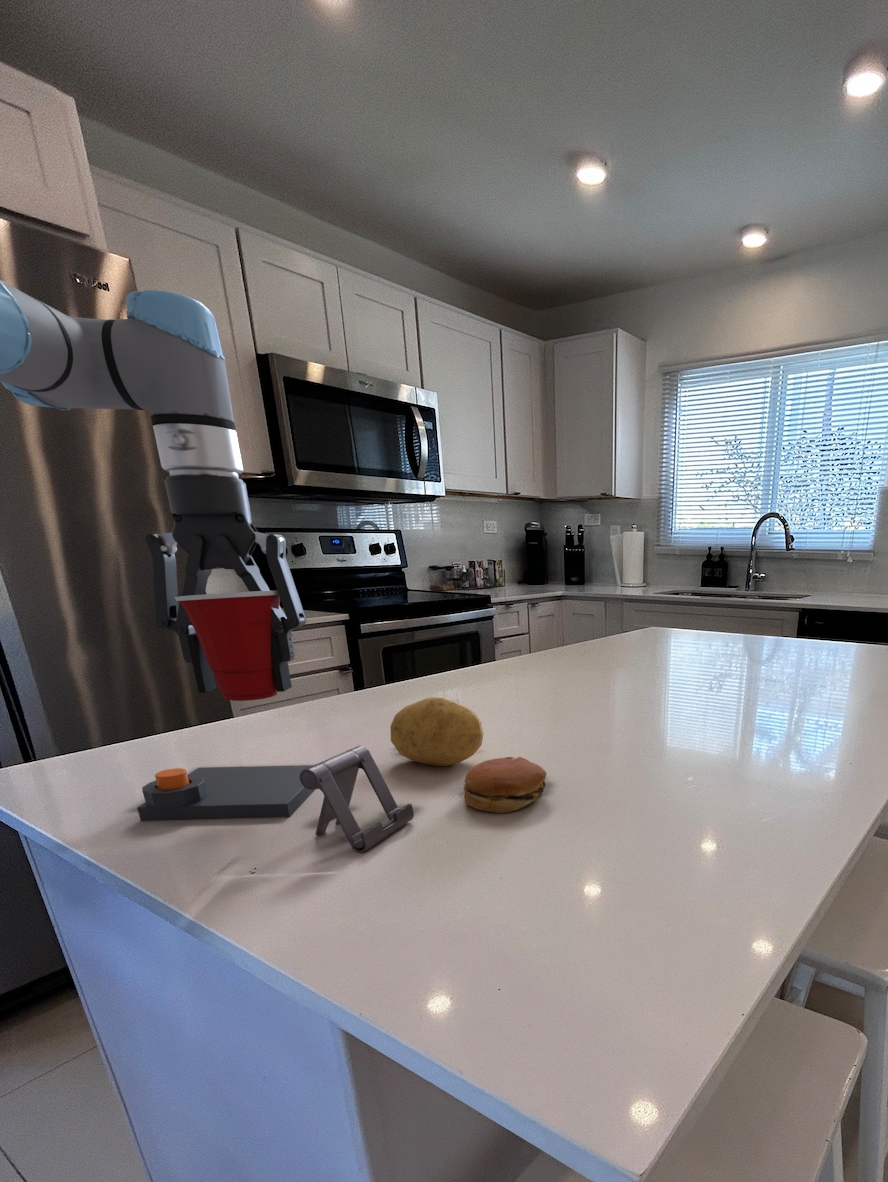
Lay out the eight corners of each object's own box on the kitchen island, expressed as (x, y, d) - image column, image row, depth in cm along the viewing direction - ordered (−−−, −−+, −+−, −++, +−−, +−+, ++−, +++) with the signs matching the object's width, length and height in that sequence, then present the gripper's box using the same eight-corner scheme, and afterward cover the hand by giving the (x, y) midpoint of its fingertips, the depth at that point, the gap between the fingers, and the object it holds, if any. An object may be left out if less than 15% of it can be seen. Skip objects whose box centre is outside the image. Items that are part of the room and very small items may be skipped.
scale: (138, 823, 72) (130, 793, 71) (201, 779, 86) (195, 754, 84) (288, 819, 74) (283, 790, 72) (327, 777, 87) (323, 751, 86)
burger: (464, 816, 74) (462, 777, 73) (465, 789, 83) (463, 753, 81) (551, 811, 76) (550, 773, 74) (543, 785, 85) (542, 750, 83)
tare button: (153, 792, 73) (149, 777, 72) (167, 782, 75) (163, 768, 75) (181, 791, 73) (177, 776, 72) (194, 782, 76) (191, 767, 75)
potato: (414, 688, 96) (374, 694, 87) (496, 699, 92) (463, 707, 84) (414, 751, 99) (375, 764, 90) (494, 765, 95) (462, 779, 86)
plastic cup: (269, 683, 85) (252, 585, 80) (318, 693, 79) (302, 589, 75) (180, 698, 77) (155, 590, 72) (227, 710, 71) (202, 594, 66)
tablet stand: (366, 855, 65) (355, 775, 62) (300, 845, 67) (286, 767, 64) (414, 822, 73) (407, 750, 70) (354, 814, 75) (344, 743, 72)
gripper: (76, 470, 65) (135, 698, 73) (294, 473, 67) (327, 695, 75) (121, 478, 72) (170, 684, 80) (317, 480, 73) (345, 682, 82)
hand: (246, 689), depth 77 cm, fingers closed on plastic cup, 8 cm apart
